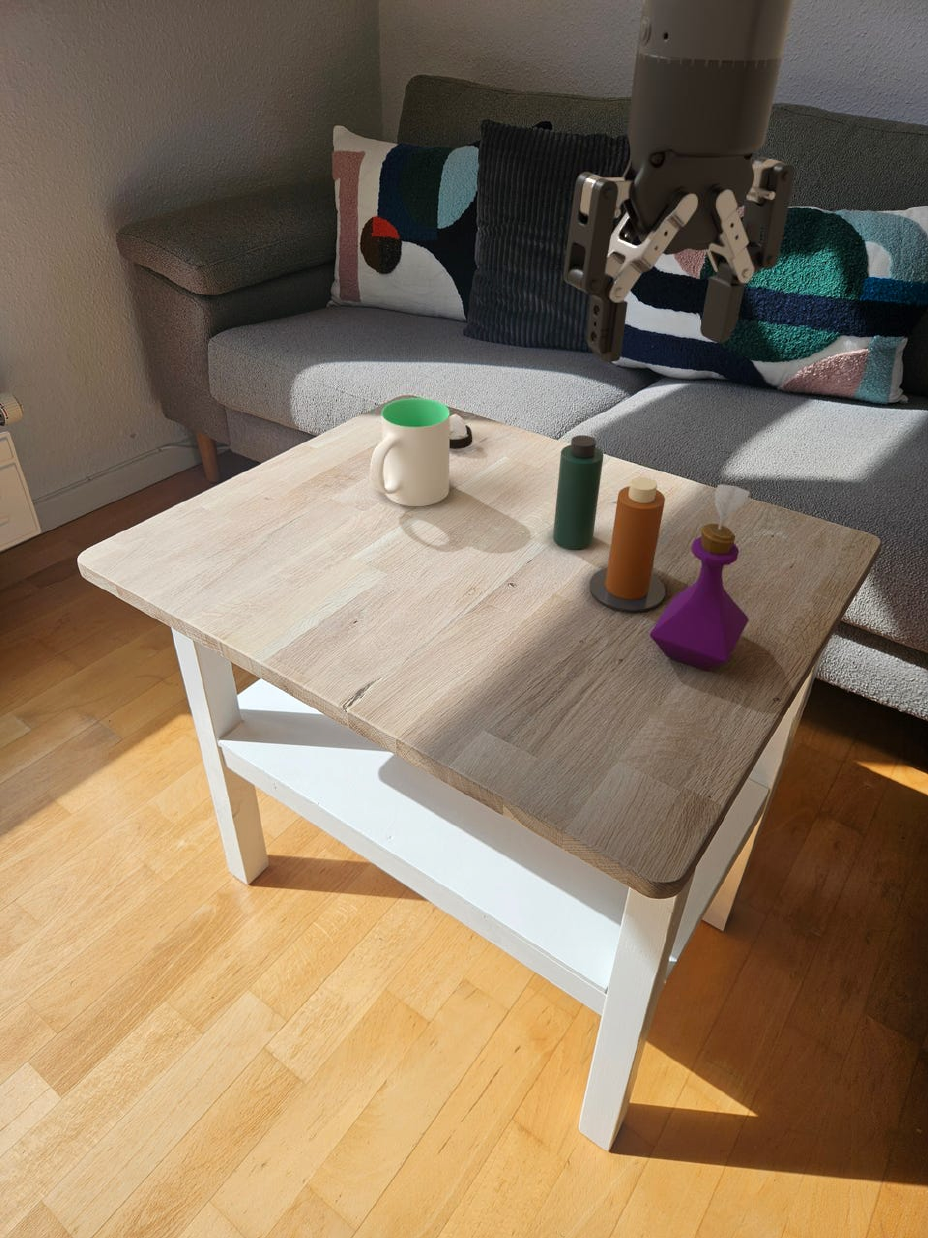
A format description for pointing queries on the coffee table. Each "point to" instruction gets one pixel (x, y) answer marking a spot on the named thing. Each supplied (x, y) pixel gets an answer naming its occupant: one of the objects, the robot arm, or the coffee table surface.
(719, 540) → the perfume bottle
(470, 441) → the watch
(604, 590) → the slate coaster
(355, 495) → the coffee table surface
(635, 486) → the amber bottle
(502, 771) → the coffee table surface
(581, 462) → the green bottle
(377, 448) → the mug
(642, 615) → the coffee table surface
